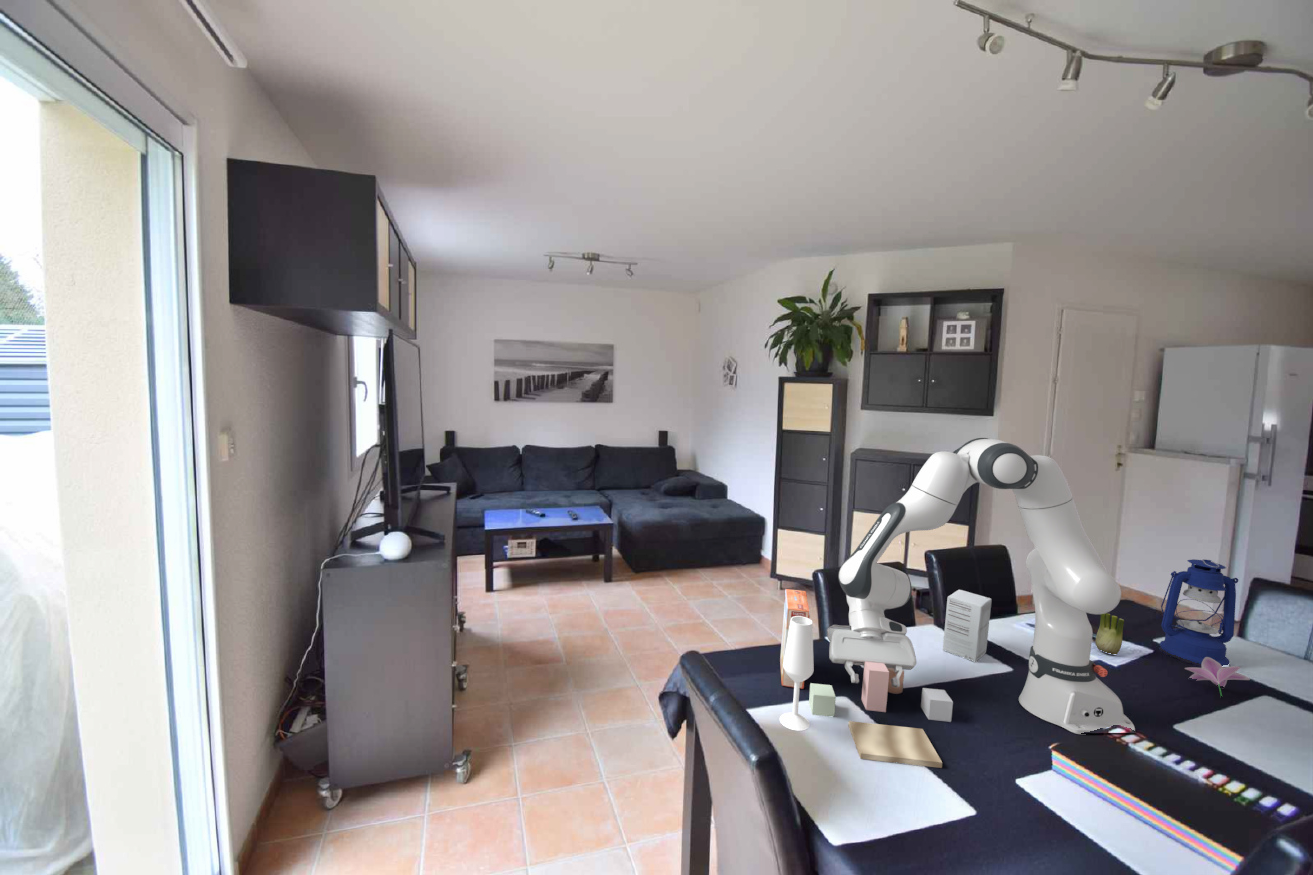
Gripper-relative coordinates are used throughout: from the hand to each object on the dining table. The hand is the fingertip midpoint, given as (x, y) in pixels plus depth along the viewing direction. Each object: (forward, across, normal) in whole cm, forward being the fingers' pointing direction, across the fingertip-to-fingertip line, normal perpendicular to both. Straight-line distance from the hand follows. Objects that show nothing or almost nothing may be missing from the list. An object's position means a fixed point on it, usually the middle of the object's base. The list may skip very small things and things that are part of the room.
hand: (875, 684), depth 131 cm
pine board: (+14, 0, -6) cm, 16 cm away
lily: (-13, +94, +21) cm, 97 cm away
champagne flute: (+11, -20, -3) cm, 23 cm away
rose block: (+4, 0, +4) cm, 6 cm away
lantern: (-28, +105, +36) cm, 115 cm away
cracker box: (-4, -18, +12) cm, 22 cm away
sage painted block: (+7, -13, +2) cm, 15 cm away
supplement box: (-20, +35, +28) cm, 49 cm away
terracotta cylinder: (-3, +7, +11) cm, 13 cm away
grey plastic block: (+4, +14, +4) cm, 15 cm away
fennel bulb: (-26, +79, +34) cm, 90 cm away
